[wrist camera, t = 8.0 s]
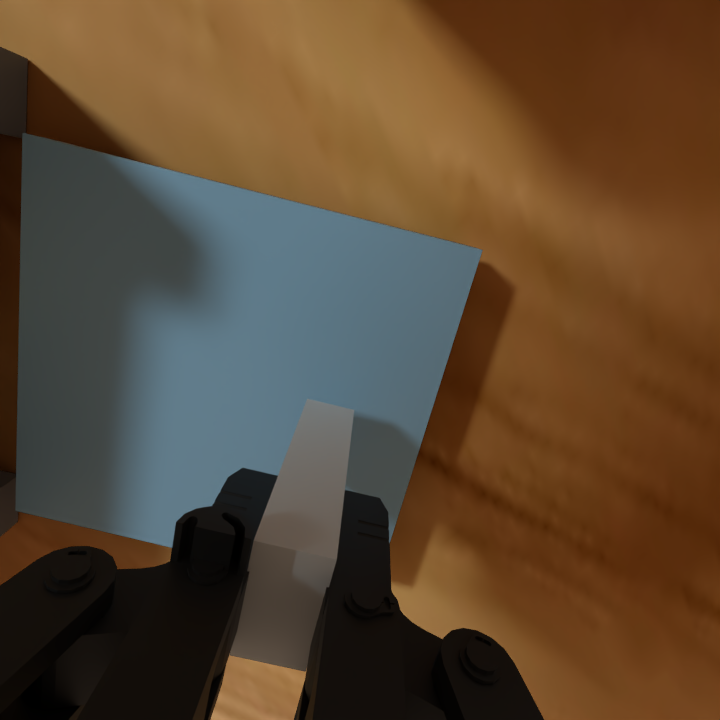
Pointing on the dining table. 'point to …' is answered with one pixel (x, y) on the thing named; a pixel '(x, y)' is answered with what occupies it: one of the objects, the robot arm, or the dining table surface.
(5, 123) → the grey notched block
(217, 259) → the side door
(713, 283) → the dining table surface
